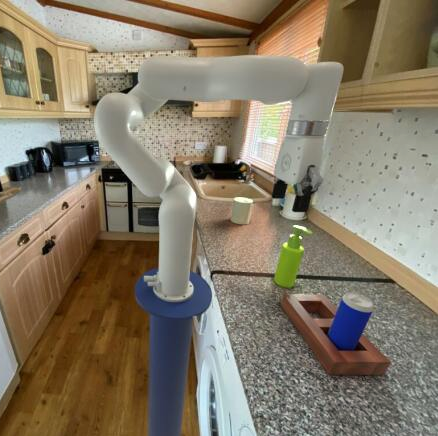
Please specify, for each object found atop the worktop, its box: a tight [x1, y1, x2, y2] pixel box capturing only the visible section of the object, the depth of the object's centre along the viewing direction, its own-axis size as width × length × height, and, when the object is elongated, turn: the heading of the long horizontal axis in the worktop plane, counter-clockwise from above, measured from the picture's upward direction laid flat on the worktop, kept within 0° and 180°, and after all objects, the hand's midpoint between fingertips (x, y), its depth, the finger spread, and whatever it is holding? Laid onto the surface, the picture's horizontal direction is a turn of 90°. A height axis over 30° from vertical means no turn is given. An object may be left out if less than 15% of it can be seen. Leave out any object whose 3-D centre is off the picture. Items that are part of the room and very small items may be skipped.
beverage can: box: [327, 291, 375, 351], centre depth 53 cm, size 5×5×15 cm
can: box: [230, 196, 254, 225], centre depth 124 cm, size 9×9×12 cm
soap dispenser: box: [273, 224, 314, 289], centre depth 75 cm, size 6×7×20 cm
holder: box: [280, 293, 392, 376], centre depth 60 cm, size 12×20×4 cm, turn 0°
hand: (287, 204), depth 59 cm, fingers open, 9 cm apart
